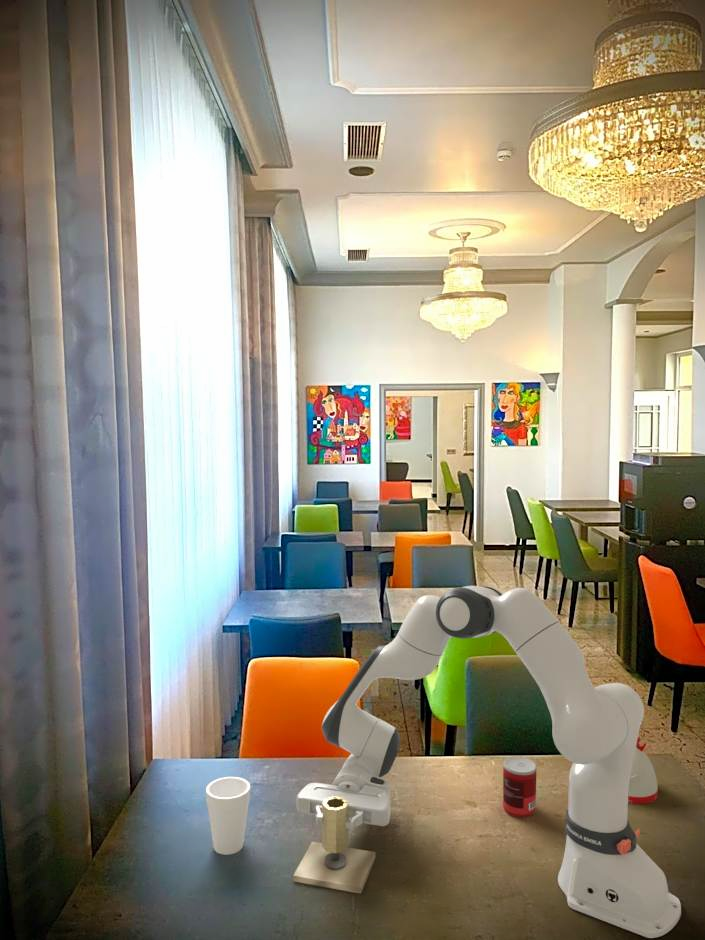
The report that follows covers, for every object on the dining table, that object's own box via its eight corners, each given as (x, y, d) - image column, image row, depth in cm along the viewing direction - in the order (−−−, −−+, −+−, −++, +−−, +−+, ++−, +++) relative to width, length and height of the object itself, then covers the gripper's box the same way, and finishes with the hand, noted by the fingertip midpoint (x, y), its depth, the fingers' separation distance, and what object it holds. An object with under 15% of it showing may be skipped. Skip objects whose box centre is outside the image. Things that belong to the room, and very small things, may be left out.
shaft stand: (375, 857, 148) (375, 809, 148) (361, 893, 137) (361, 842, 136) (312, 846, 152) (312, 800, 151) (293, 881, 140) (293, 830, 140)
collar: (349, 840, 146) (350, 798, 145) (343, 854, 141) (343, 811, 141) (326, 836, 147) (327, 795, 147) (319, 850, 143) (319, 807, 142)
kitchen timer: (602, 771, 187) (603, 715, 186) (658, 782, 181) (660, 725, 180) (595, 795, 174) (597, 736, 173) (655, 809, 168) (658, 747, 167)
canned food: (532, 801, 171) (533, 757, 171) (538, 819, 163) (539, 773, 163) (500, 799, 172) (501, 755, 171) (504, 817, 164) (505, 771, 163)
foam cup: (197, 850, 150) (196, 791, 150) (224, 829, 159) (224, 773, 158) (232, 864, 146) (232, 803, 145) (259, 841, 154) (258, 783, 153)
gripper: (307, 770, 159) (285, 801, 146) (396, 783, 154) (382, 817, 140) (307, 797, 159) (285, 831, 146) (396, 811, 154) (382, 847, 141)
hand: (333, 824), depth 143 cm, fingers closed on collar, 5 cm apart
